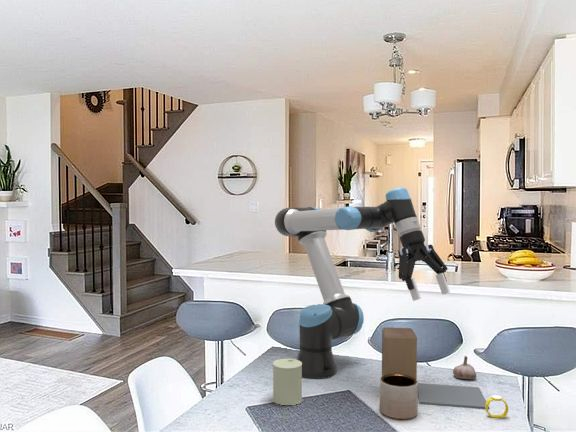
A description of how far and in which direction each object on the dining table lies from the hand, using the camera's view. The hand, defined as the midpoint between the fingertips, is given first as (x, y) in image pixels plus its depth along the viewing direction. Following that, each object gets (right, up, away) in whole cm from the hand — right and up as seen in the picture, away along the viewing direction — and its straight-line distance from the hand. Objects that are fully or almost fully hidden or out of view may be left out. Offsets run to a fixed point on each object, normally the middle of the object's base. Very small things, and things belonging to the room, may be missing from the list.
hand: (431, 296), depth 154 cm
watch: (+14, -32, -14) cm, 38 cm away
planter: (-13, -32, -11) cm, 36 cm away
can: (-45, -32, -2) cm, 56 cm away
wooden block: (-10, -32, +4) cm, 33 cm away
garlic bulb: (+16, -32, +17) cm, 40 cm away
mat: (+6, -32, +1) cm, 32 cm away
